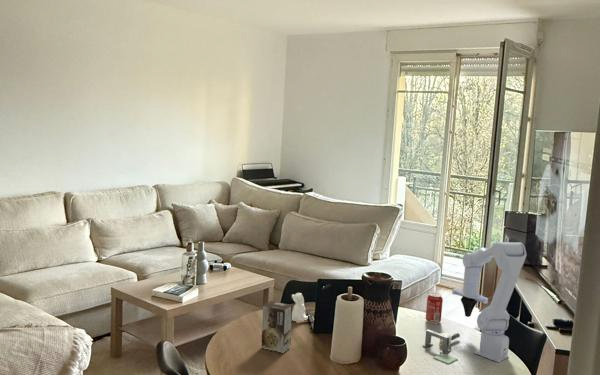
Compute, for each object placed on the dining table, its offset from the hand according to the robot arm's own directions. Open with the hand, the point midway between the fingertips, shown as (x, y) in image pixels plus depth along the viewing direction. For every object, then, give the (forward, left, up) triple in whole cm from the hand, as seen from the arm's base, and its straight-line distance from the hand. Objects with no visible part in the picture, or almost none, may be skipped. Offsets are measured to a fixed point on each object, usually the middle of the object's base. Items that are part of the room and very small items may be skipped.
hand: (467, 316), depth 219 cm
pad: (-7, +27, -8) cm, 29 cm away
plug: (0, +13, -8) cm, 15 cm away
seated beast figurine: (+51, +44, -9) cm, 68 cm away
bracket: (0, +22, -8) cm, 23 cm away
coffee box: (+36, +70, -9) cm, 79 cm away
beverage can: (+17, -2, -9) cm, 19 cm away
